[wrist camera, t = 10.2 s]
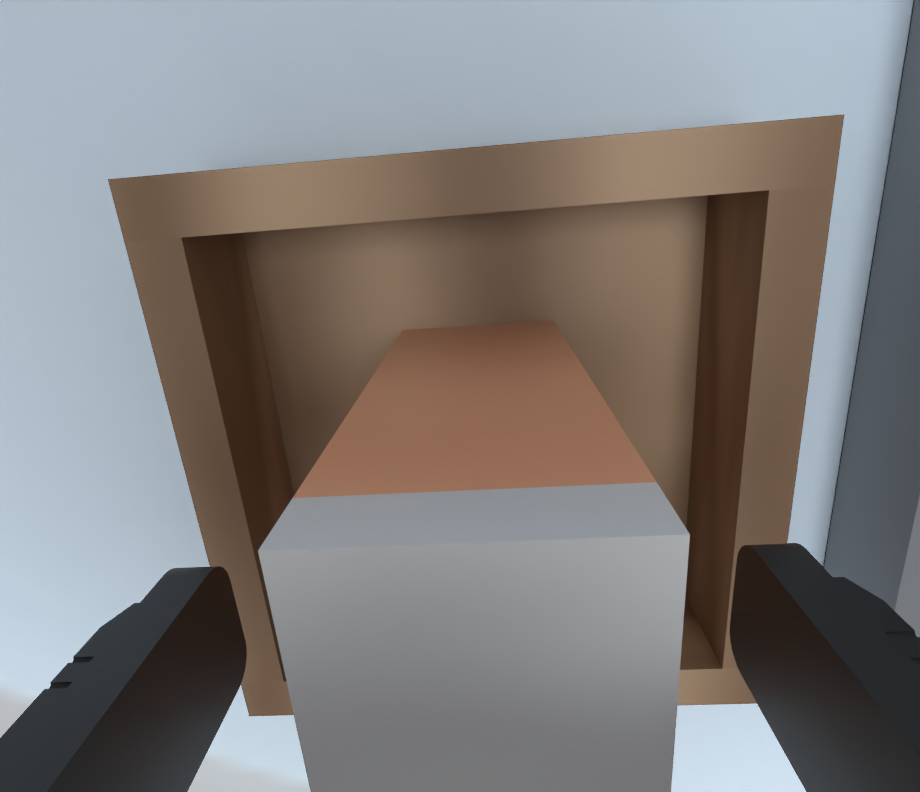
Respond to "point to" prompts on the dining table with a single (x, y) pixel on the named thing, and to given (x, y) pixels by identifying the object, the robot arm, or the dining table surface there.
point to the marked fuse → (481, 580)
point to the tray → (498, 302)
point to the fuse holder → (887, 388)
